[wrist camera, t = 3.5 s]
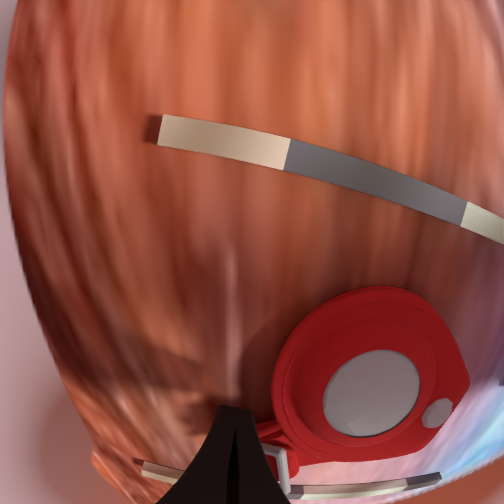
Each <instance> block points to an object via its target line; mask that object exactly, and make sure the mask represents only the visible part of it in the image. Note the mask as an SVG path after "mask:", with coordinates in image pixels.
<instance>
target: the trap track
mask: <svg viewBox="0 0 504 504" xmlns="http://www.w3.org/2000/svg"><path fill="white" fill-rule="evenodd" d="M157 145H160V146H166V147H172V148H178V149H184V150H190V151H195V152H201V153H206V154H211V155H216V156H221V157H226V158H231V159H236V160H241V161H245V162H250V163H254V164H259V165H263V166H267V167H271V168H276V169H280V170H284V171H288V172H292V173H296V174H300V175H304V176H307V177H311V178H315V179H318V180H322V181H326V182H329V183H333V184H336V185H340V186H343V187H347V188H350V189H353V190H357V191H360V192H363V193H367V194H370V195H373V196H376V197H379V198H382V199H385V200H388V201H392V202H395V203H397V204H400V205H403V206H406V207H409V208H412V209H415V210H418V211H421V212H423V213H426V214H429V215H432V216H434V217H437V218H440V219H442V220H445V221H448V222H450V223H453V224H455V225H458V226H460V227H463V228H465V229H468V230H470V231H473V232H475V233H478V234H480V235H482V236H485V237H487V238H489V239H492V240H494V241H496V242H499V243H501V244H503V245H504V219H502V218H500V217H499V216H497V215H495V214H493V213H491V212H489V211H487V210H485V209H483V208H481V207H478V206H476V205H474V204H472V203H470V202H468V201H466V200H464V199H461V198H459V197H457V196H455V195H453V194H450V193H448V192H446V191H443V190H441V189H439V188H436V187H434V186H432V185H429V184H427V183H424V182H422V181H419V180H417V179H414V178H412V177H409V176H406V175H404V174H401V173H398V172H396V171H393V170H390V169H387V168H385V167H382V166H379V165H376V164H373V163H370V162H367V161H364V160H361V159H358V158H355V157H352V156H349V155H346V154H343V153H339V152H336V151H333V150H329V149H326V148H322V147H319V146H315V145H312V144H308V143H304V142H301V141H297V140H293V139H289V138H285V137H281V136H277V135H273V134H269V133H264V132H260V131H255V130H251V129H246V128H241V127H236V126H231V125H226V124H221V123H215V122H210V121H204V120H198V119H192V118H185V117H178V116H171V115H164V114H163V119H162V123H161V128H160V133H159V138H158V143H157ZM184 472H185V471H181V470H177V469H173V468H169V467H165V466H161V465H157V464H153V463H150V462H146V461H144V463H143V467H142V476H145V477H148V478H152V479H156V480H159V481H163V482H167V483H171V484H175V483H176V482H177V481H178V479H179V478H180V477H181V476H182V474H183V473H184ZM441 479H442V477H441V475H440V472H437V473H433V474H428V475H423V476H418V477H412V478H406V479H400V480H393V481H385V482H376V483H365V484H352V485H328V486H303V485H290V487H291V491H290V493H288V494H287V495H286V497H287V498H288V499H300V500H313V499H341V498H354V497H365V496H374V495H381V494H388V493H395V492H401V491H406V490H412V489H417V488H421V487H426V486H430V485H435V484H436V483H438V482H439V481H440V480H441Z"/></svg>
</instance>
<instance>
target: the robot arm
mask: <svg viewBox="0 0 504 504" xmlns="http://www.w3.org/2000/svg"><path fill="white" fill-rule="evenodd" d="M156 504H291V503H290V502H289V500H288V498H287V497H286V495H285V494H284V492H283V490H282V489H281V487H280V485H279V483H278V482H277V480H276V478H275V476H274V474H273V472H272V470H271V467H270V465H269V463H268V461H267V458H266V456H265V453H264V450H263V448H262V445H261V442H260V439H259V436H258V432H257V429H256V425H255V420H254V415H253V412H252V411H251V410H247V409H241V408H236V407H230V406H225V405H220V406H218V408H217V412H216V416H215V420H214V422H213V425H212V427H211V429H210V432H209V433H208V435H207V437H206V439H205V441H204V443H203V445H202V447H201V448H200V450H199V451H198V453H197V455H196V456H195V458H194V459H193V461H192V462H191V464H190V465H189V466H188V468H187V469H186V471H185V472H184V473H183V474H182V476H181V477H180V478H179V479H178V481H177V482H176V483H175V484H174V485H173V486H172V487H171V489H170V490H169V491H168V492H167V493H166V494H165V495H164V496H163V497H162V498H161V499H160V500H159V501H158V502H157V503H156Z"/></svg>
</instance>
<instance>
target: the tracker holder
mask: <svg viewBox="0 0 504 504" xmlns="http://www.w3.org/2000/svg"><path fill="white" fill-rule="evenodd" d="M469 385H470V380H469V375H468V372H467V369H466V367H465V364H464V361H463V359H462V356H461V353H460V351H459V348H458V345H457V343H456V342H455V340H454V338H453V336H452V334H451V332H450V330H449V329H448V327H447V325H446V324H445V322H444V321H443V319H442V318H441V316H440V315H439V314H438V313H437V312H436V310H435V309H434V308H433V307H432V306H431V305H430V303H428V302H427V301H426V300H425V299H424V298H422V297H421V296H419V295H417V294H415V293H413V292H410V291H408V290H405V289H402V288H397V287H392V286H372V287H364V288H360V289H356V290H353V291H349V292H346V293H343V294H341V295H339V296H336V297H334V298H332V299H330V300H329V301H327V302H325V303H324V304H322V305H320V306H319V307H317V308H316V309H315V310H313V311H312V312H311V313H310V314H308V315H307V316H306V317H305V318H304V319H303V320H302V321H301V322H300V323H299V324H298V325H297V327H296V328H295V329H294V330H293V332H292V333H291V335H290V336H289V338H288V339H287V341H286V343H285V345H284V347H283V348H282V350H281V352H280V354H279V357H278V359H277V362H276V364H275V368H274V372H273V376H272V383H271V399H272V407H273V411H274V414H275V417H276V420H270V421H266V422H262V423H258V424H255V425H256V429H257V432H258V436H259V439H260V442H261V445H262V448H263V450H264V453H265V456H266V458H267V461H268V463H269V465H270V467H271V470H272V472H273V474H274V476H275V478H276V480H277V481H280V484H279V485H280V487H281V489H282V490H283V492H284V494H285V495H287V494H288V493H290V491H291V487H290V480H289V479H291V478H293V477H294V476H296V474H297V473H298V472H299V467H300V466H306V465H312V464H318V463H325V462H332V461H336V462H363V461H373V460H381V459H388V458H393V457H399V456H404V455H408V454H411V453H415V452H417V451H419V450H421V449H423V448H424V447H425V446H426V445H427V444H428V443H429V442H430V441H431V440H432V439H433V438H434V437H435V435H436V434H437V433H438V431H439V430H440V429H441V427H442V426H443V425H444V423H445V422H446V421H447V419H448V418H449V417H450V415H451V414H452V412H453V411H454V410H455V408H456V407H457V405H458V404H459V402H460V401H461V399H462V398H463V396H464V395H465V393H466V392H467V390H468V388H469Z"/></svg>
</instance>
